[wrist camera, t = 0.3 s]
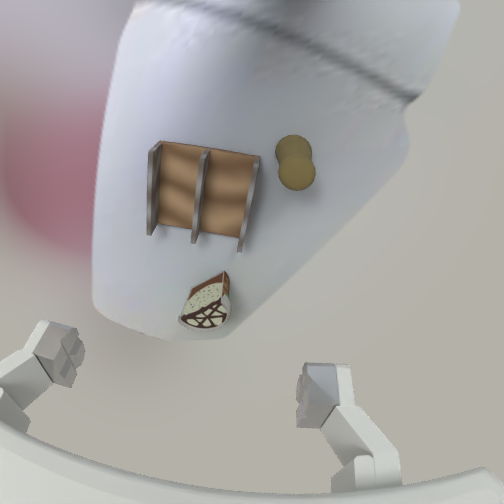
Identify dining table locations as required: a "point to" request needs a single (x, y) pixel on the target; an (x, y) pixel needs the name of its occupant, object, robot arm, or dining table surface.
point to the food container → (207, 304)
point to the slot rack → (200, 189)
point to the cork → (295, 162)
